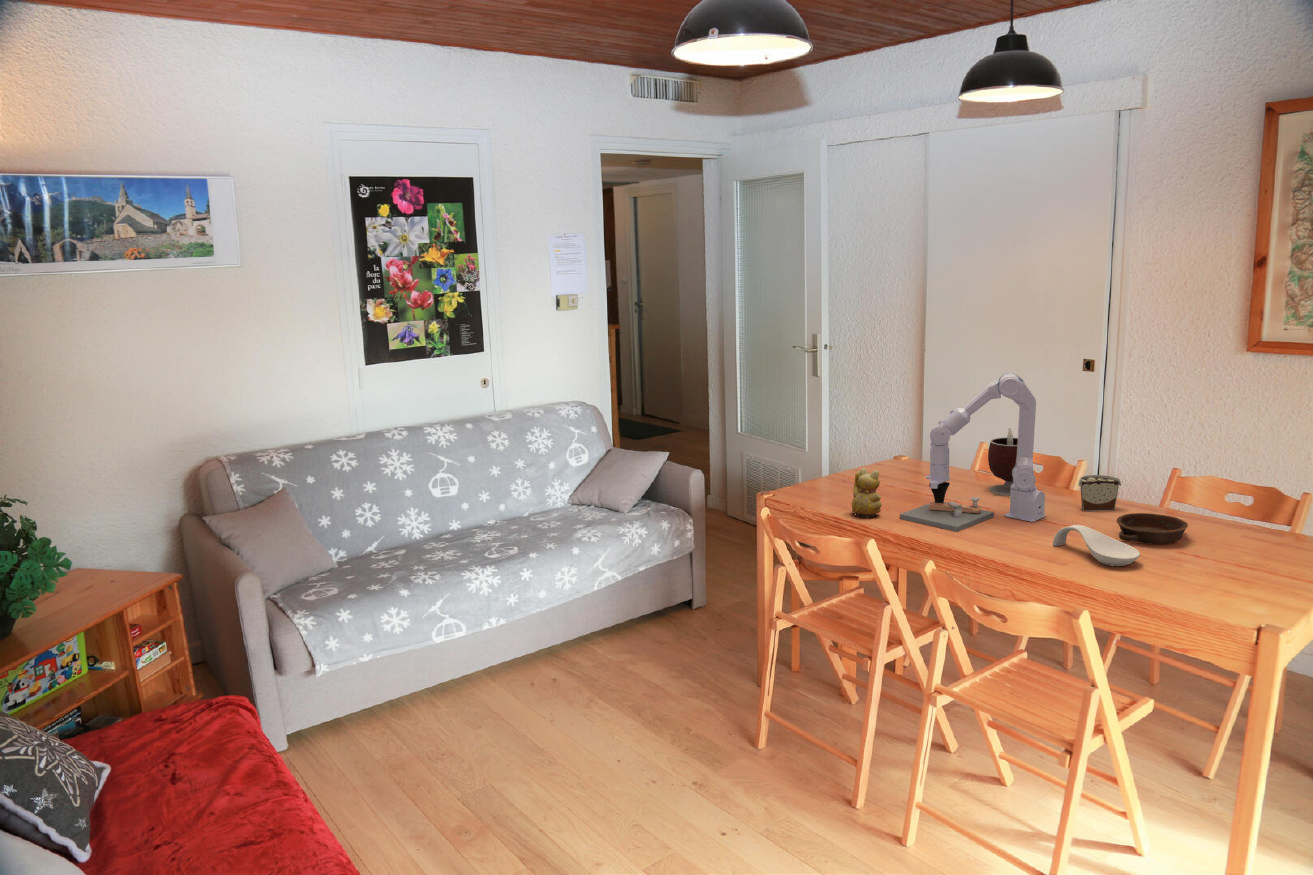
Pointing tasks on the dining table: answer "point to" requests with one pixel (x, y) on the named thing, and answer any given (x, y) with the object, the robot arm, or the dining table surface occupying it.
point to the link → (965, 508)
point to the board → (945, 518)
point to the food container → (1099, 492)
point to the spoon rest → (1100, 546)
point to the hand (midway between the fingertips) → (939, 505)
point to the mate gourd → (1003, 462)
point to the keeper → (956, 509)
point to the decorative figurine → (866, 493)
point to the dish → (1151, 528)
